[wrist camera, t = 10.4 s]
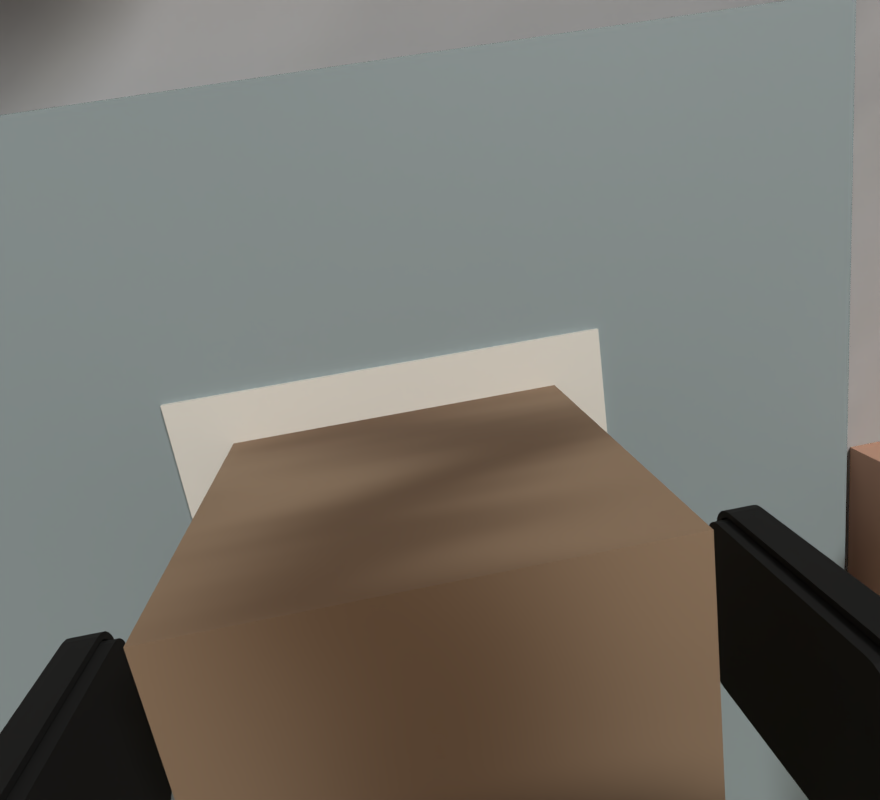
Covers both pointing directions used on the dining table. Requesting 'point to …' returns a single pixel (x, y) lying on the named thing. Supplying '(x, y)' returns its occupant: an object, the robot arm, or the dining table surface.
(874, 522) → the terracotta block
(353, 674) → the walnut block
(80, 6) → the dining table surface
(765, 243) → the board
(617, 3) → the dining table surface
